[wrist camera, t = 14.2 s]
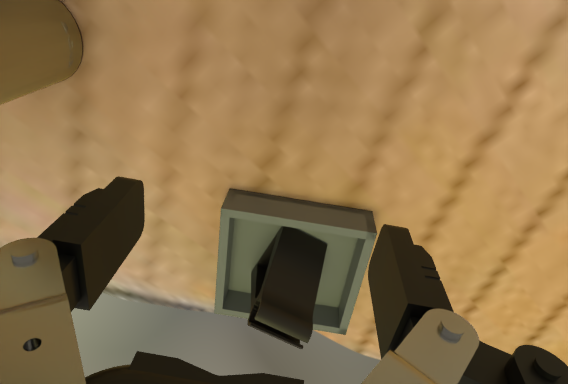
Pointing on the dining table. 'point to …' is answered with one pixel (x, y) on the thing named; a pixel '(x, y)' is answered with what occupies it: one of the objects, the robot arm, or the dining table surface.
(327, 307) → the tray
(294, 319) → the phone stand
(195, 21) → the dining table surface
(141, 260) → the dining table surface
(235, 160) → the dining table surface
